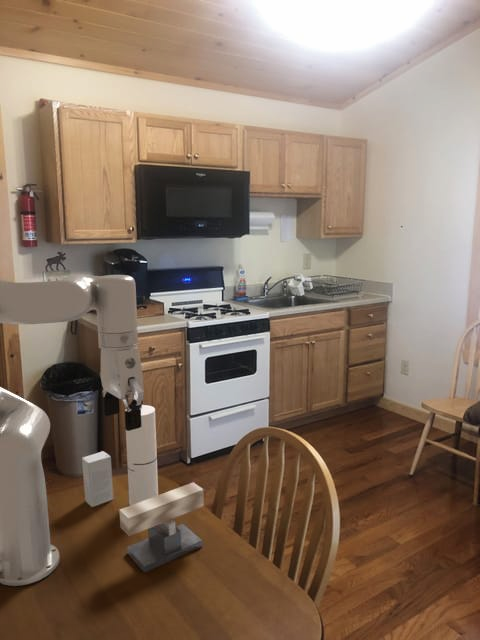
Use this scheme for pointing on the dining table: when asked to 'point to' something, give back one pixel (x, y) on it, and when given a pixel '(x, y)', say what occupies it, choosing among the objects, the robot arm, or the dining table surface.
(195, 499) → the ash bar
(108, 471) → the skincare box
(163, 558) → the fulcrum stand
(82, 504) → the dining table surface
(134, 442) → the cylindrical container
